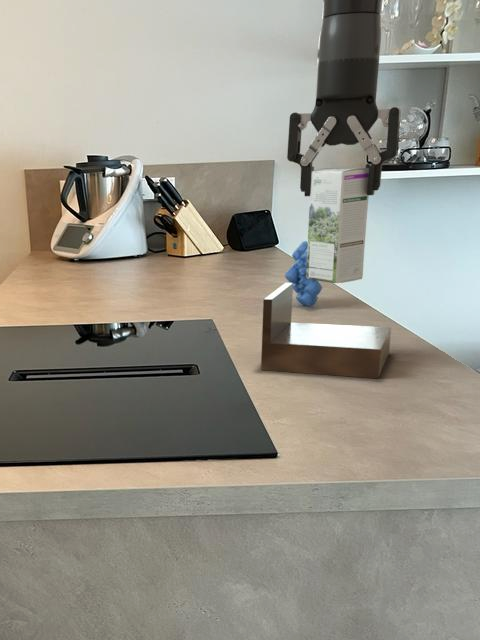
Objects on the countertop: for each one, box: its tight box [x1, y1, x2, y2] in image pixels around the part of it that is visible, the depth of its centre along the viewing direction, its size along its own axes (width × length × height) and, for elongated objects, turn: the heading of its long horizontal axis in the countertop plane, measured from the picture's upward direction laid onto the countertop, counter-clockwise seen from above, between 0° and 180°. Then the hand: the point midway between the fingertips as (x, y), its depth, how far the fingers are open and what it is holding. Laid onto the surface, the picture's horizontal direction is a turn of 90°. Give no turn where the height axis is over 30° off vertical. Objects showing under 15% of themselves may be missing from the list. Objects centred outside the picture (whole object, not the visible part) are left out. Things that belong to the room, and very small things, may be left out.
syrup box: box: [306, 167, 370, 284], centre depth 107 cm, size 6×6×14 cm
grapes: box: [284, 240, 323, 308], centre depth 151 cm, size 12×7×12 cm, turn 9°
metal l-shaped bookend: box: [260, 282, 392, 379], centre depth 112 cm, size 16×14×10 cm
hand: (338, 195), depth 105 cm, fingers closed on syrup box, 7 cm apart
